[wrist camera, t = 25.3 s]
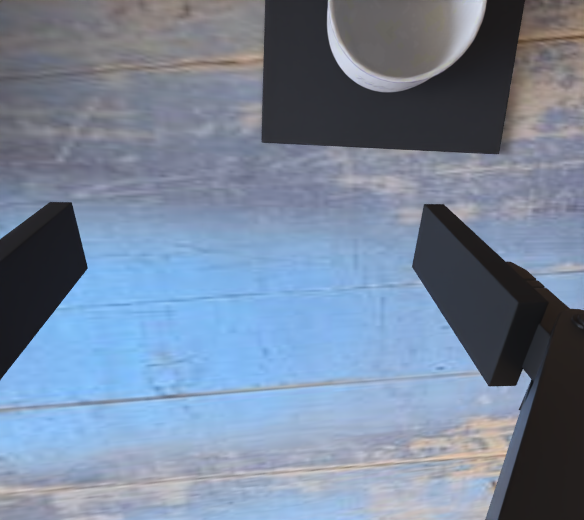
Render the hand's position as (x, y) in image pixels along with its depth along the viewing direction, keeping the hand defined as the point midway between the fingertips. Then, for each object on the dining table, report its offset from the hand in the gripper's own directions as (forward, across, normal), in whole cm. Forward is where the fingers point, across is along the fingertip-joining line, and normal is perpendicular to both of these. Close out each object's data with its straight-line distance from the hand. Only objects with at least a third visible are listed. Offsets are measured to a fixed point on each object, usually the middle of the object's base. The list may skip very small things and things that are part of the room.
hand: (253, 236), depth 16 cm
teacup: (+26, +12, +8) cm, 29 cm away
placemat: (+26, +11, +8) cm, 29 cm away
